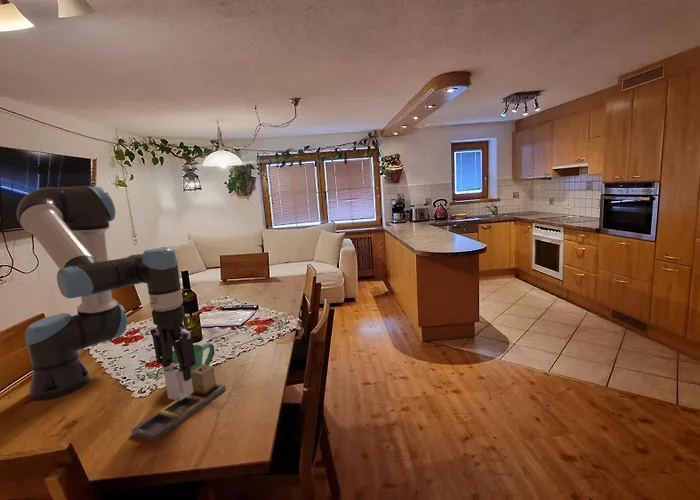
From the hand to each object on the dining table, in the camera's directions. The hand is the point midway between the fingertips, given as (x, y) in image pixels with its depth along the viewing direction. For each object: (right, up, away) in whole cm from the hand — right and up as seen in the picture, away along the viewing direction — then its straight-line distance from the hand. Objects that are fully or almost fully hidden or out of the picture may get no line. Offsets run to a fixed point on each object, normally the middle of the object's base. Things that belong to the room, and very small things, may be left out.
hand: (180, 388), depth 96 cm
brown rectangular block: (+4, -5, +8) cm, 10 cm away
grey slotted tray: (0, -7, +1) cm, 7 cm away
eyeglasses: (0, 0, +45) cm, 45 cm away
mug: (-4, -4, +20) cm, 21 cm away
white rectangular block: (0, -2, 0) cm, 2 cm away
